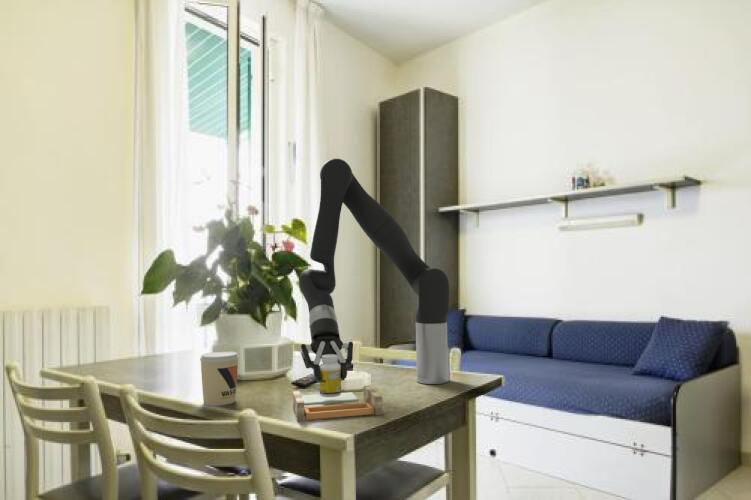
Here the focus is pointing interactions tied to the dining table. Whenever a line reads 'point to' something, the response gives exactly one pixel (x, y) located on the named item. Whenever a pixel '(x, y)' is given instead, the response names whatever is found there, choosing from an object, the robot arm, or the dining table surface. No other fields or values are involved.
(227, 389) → the coffee cup
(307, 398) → the mat
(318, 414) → the orange rectangular tray
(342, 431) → the dining table surface
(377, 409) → the tunnel walls
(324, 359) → the supplement bottle
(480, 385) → the dining table surface
